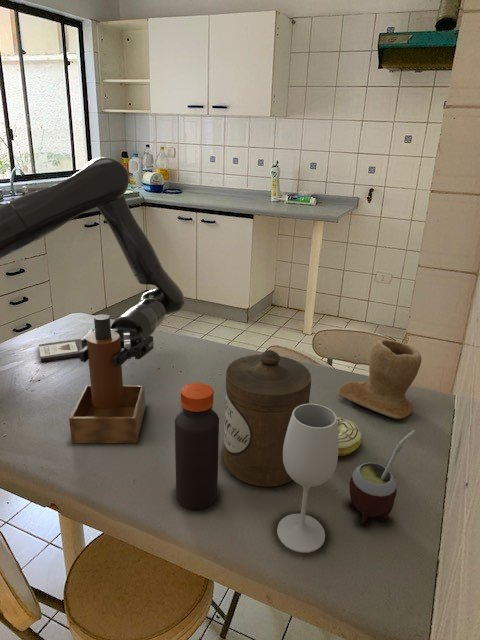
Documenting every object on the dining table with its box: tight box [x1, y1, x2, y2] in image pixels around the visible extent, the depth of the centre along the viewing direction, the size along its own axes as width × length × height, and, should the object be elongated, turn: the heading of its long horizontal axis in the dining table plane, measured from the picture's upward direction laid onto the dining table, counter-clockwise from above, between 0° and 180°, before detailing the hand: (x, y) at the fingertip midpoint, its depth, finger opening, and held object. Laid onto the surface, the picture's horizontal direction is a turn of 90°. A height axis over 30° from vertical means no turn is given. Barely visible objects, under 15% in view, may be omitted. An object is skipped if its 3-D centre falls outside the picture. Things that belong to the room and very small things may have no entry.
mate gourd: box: [348, 429, 417, 527], centre depth 72 cm, size 8×8×15 cm
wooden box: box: [68, 384, 146, 444], centre depth 93 cm, size 12×12×6 cm
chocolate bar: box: [38, 338, 82, 363], centre depth 124 cm, size 9×1×18 cm
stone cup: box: [337, 339, 422, 420], centre depth 102 cm, size 15×12×15 cm
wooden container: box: [223, 349, 312, 488], centre depth 81 cm, size 15×15×22 cm
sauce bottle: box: [87, 314, 124, 409], centre depth 88 cm, size 6×6×18 cm
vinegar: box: [174, 382, 220, 510], centre depth 73 cm, size 7×7×20 cm
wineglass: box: [276, 403, 339, 554], centre depth 66 cm, size 8×8×21 cm
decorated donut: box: [336, 415, 362, 457], centre depth 90 cm, size 10×11×4 cm
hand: (98, 359), depth 86 cm, fingers closed on sauce bottle, 6 cm apart
